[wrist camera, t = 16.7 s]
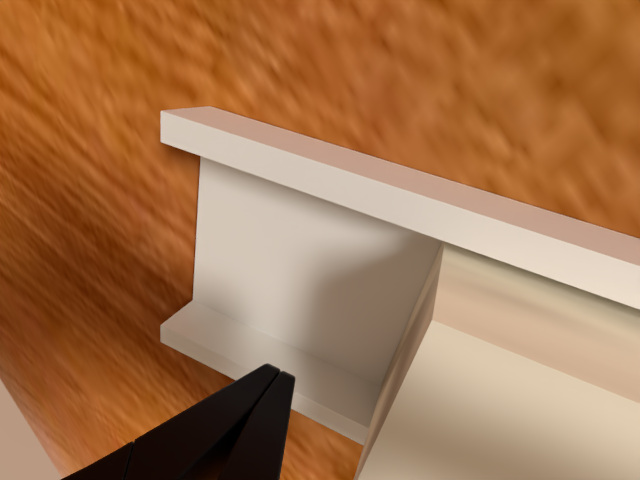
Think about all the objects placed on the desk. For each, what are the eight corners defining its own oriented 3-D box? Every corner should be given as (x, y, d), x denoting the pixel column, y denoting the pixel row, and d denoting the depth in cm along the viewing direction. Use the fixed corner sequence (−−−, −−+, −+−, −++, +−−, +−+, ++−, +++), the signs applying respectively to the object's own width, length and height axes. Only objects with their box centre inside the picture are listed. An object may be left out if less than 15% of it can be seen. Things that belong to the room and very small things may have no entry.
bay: (568, 486, 14) (586, 559, 12) (197, 311, 18) (160, 341, 16) (771, 279, 9) (860, 337, 7) (209, 106, 13) (160, 110, 11)
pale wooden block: (582, 470, 13) (636, 660, 9) (383, 379, 15) (347, 500, 11) (723, 326, 10) (918, 515, 6) (446, 231, 12) (432, 320, 7)
